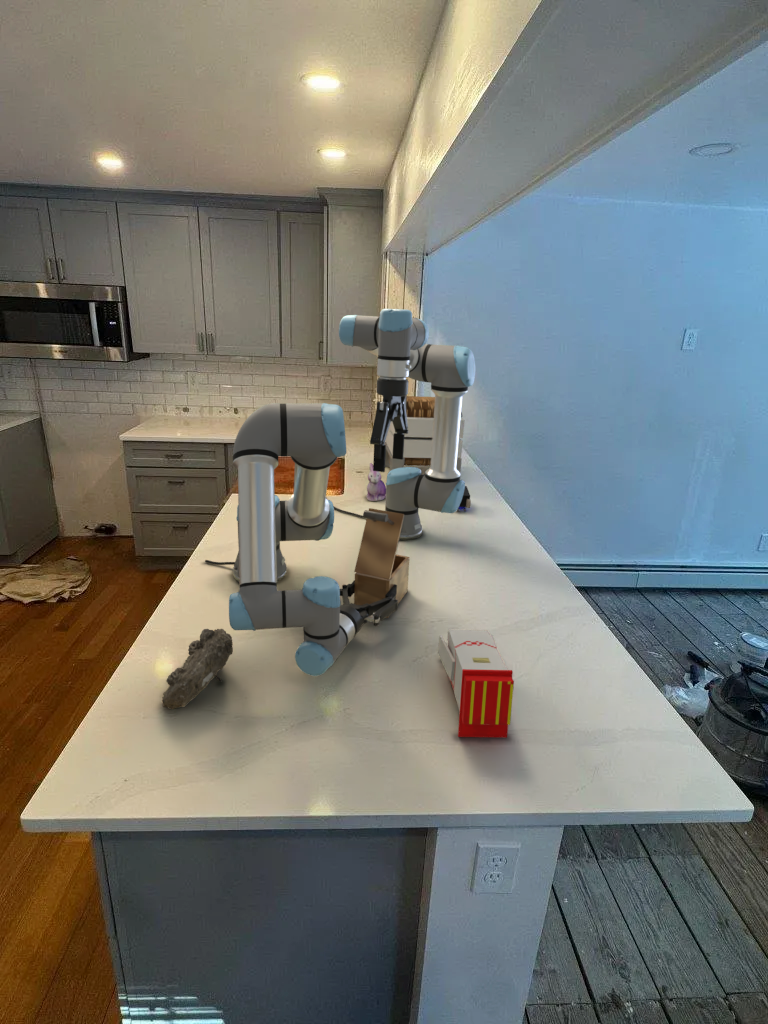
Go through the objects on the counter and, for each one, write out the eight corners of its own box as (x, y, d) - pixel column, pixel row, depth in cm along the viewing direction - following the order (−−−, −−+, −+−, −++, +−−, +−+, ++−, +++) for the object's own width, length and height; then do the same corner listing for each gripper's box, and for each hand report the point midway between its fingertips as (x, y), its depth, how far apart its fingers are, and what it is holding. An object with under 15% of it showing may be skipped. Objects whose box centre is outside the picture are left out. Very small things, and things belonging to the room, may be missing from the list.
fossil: (186, 631, 128) (233, 600, 123) (216, 659, 131) (263, 630, 126) (139, 703, 108) (193, 670, 103) (175, 734, 111) (229, 704, 106)
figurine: (371, 503, 230) (372, 467, 224) (360, 495, 238) (361, 460, 233) (391, 500, 234) (393, 465, 229) (380, 493, 242) (381, 459, 237)
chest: (376, 584, 162) (377, 550, 159) (407, 591, 159) (409, 556, 156) (353, 610, 148) (354, 573, 145) (387, 618, 145) (389, 581, 142)
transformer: (382, 463, 289) (386, 382, 275) (445, 464, 293) (451, 384, 279) (390, 482, 257) (394, 392, 243) (460, 483, 261) (468, 394, 247)
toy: (488, 613, 130) (523, 677, 101) (484, 667, 133) (517, 744, 104) (435, 612, 130) (455, 676, 101) (432, 666, 133) (451, 743, 103)
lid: (370, 508, 148) (359, 500, 139) (404, 514, 145) (395, 506, 136) (355, 572, 145) (343, 567, 136) (390, 579, 142) (379, 575, 133)
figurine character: (470, 516, 223) (465, 500, 237) (473, 499, 220) (467, 484, 233) (453, 516, 223) (449, 500, 236) (455, 498, 220) (451, 483, 233)
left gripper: (297, 630, 133) (338, 589, 153) (386, 652, 126) (416, 606, 146) (297, 601, 130) (338, 564, 150) (387, 622, 123) (418, 580, 143)
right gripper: (389, 384, 122) (385, 479, 129) (423, 374, 144) (418, 455, 151) (357, 381, 124) (355, 474, 132) (395, 372, 146) (391, 452, 154)
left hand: (377, 585), depth 148 cm, fingers closed on chest, 9 cm apart
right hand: (388, 464), depth 141 cm, fingers open, 13 cm apart
